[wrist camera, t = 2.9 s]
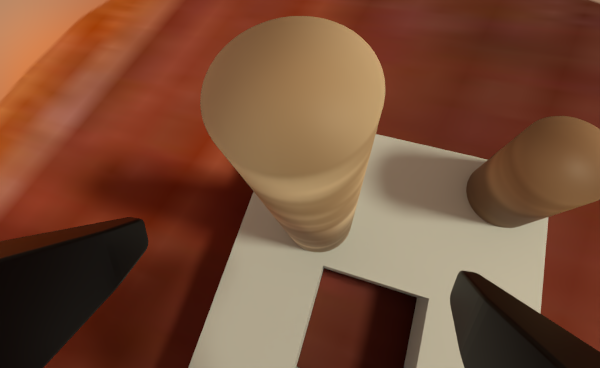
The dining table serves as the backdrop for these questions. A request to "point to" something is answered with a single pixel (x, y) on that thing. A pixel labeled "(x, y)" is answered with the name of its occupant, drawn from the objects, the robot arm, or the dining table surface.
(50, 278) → the robot arm
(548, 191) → the short walnut peg
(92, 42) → the dining table surface
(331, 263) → the hole board
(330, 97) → the tall beech peg
